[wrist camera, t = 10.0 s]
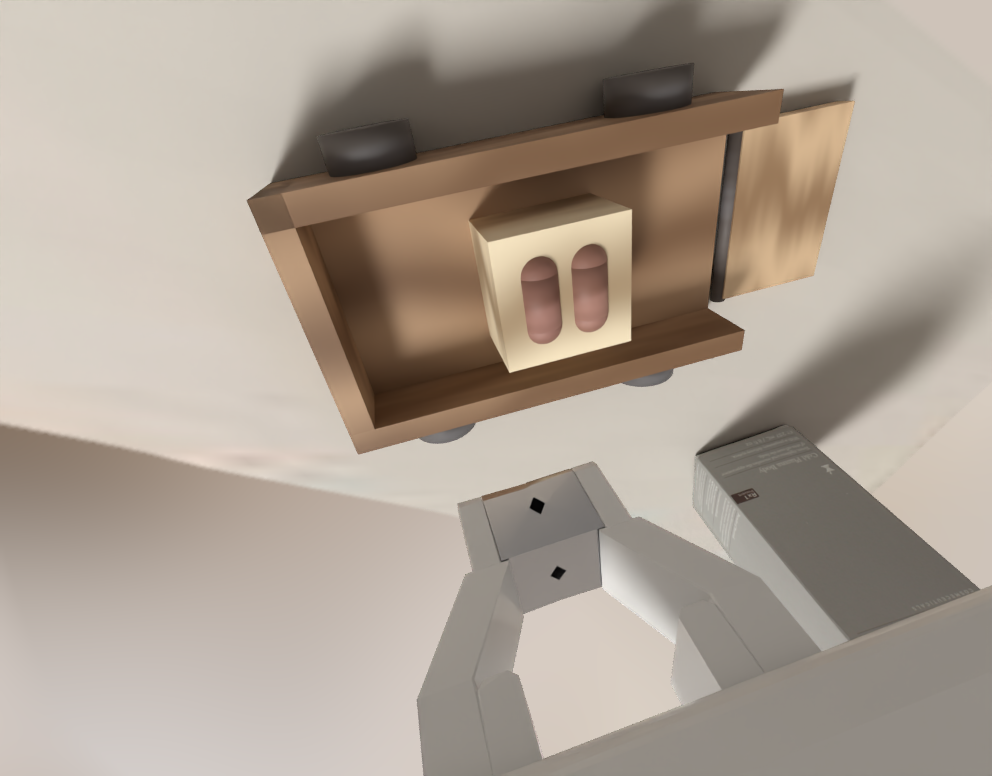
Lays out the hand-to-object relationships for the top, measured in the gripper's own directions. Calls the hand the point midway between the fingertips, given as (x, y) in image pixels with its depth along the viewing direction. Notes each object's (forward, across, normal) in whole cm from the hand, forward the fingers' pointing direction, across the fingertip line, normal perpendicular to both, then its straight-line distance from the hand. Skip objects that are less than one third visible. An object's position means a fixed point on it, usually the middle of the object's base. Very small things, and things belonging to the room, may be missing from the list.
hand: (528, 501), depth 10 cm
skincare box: (+16, -20, +22) cm, 34 cm away
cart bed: (+16, -5, +1) cm, 17 cm away
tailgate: (+15, -16, +1) cm, 22 cm away
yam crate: (+15, -5, +1) cm, 16 cm away
